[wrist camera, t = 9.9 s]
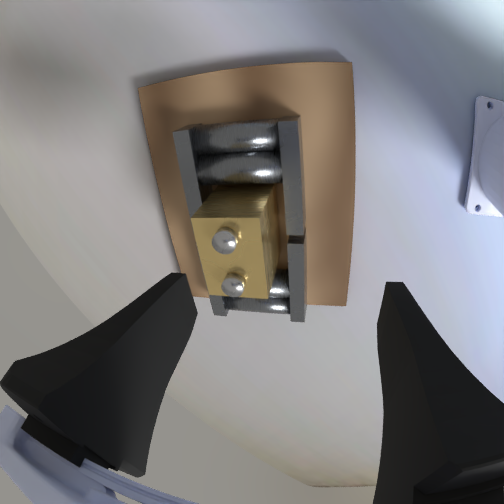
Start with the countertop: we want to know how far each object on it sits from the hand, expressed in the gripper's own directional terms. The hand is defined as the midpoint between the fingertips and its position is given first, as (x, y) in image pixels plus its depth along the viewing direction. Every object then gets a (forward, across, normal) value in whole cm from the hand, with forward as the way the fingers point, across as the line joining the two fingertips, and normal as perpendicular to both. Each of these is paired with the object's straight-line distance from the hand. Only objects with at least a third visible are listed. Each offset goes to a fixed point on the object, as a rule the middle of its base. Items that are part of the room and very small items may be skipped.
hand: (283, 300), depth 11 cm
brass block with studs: (+9, +3, +2) cm, 10 cm away
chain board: (+10, +3, 0) cm, 11 cm away
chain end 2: (+9, +3, +6) cm, 11 cm away
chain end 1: (+9, +3, -2) cm, 10 cm away
